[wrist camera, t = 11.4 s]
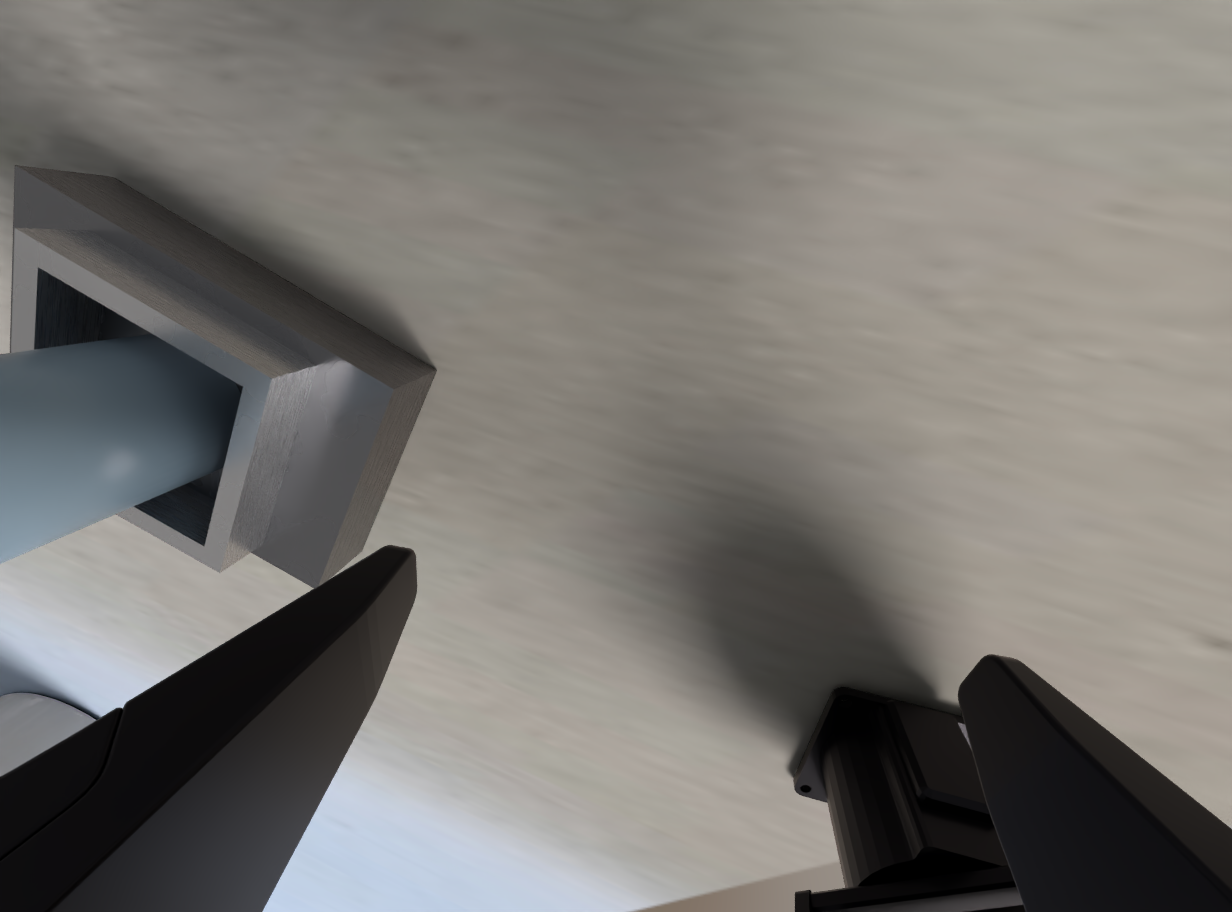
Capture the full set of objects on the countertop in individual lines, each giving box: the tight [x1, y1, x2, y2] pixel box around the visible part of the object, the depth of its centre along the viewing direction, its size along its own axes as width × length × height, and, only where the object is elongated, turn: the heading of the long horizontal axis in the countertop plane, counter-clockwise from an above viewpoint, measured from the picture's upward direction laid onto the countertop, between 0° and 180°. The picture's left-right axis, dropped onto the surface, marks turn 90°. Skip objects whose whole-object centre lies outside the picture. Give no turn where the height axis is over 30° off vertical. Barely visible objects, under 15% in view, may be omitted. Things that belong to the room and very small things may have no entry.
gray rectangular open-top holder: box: [10, 165, 437, 588], centre depth 20 cm, size 14×10×5 cm
